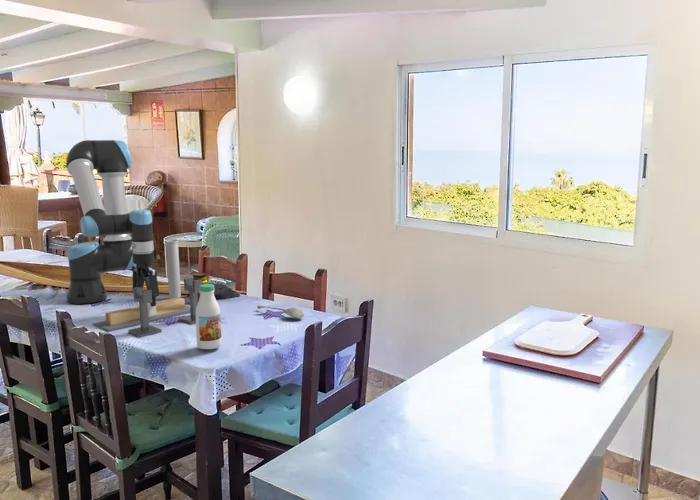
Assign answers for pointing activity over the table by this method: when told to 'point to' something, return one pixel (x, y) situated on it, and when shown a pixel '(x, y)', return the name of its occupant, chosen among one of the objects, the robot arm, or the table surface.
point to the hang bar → (134, 312)
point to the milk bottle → (208, 319)
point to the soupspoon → (287, 311)
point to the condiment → (199, 277)
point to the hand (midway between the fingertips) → (146, 312)
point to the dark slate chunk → (223, 292)
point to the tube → (173, 268)
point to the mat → (137, 322)
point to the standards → (146, 297)
